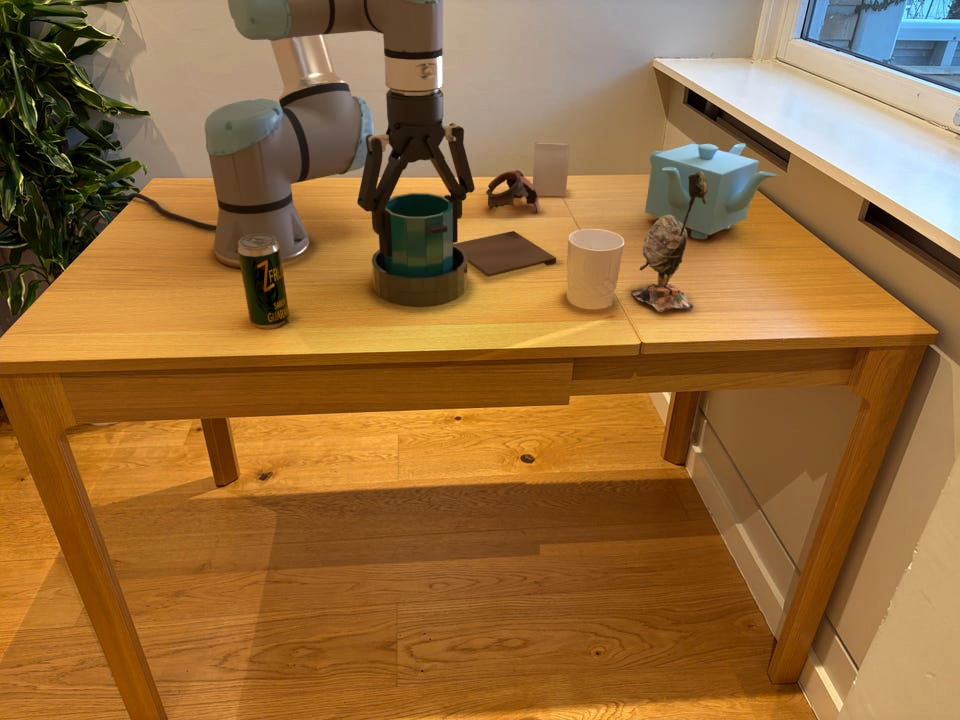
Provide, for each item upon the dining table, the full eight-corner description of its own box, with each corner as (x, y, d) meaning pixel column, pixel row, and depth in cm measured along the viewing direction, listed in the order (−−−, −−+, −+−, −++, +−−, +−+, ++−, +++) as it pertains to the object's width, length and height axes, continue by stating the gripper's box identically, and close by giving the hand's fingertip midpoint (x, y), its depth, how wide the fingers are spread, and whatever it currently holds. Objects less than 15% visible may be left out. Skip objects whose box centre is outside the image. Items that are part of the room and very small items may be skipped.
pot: (372, 273, 113) (367, 196, 106) (429, 260, 117) (428, 185, 110) (409, 309, 103) (406, 227, 96) (470, 293, 107) (471, 214, 101)
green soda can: (242, 324, 100) (227, 243, 94) (269, 308, 104) (256, 230, 98) (271, 334, 98) (258, 252, 92) (298, 317, 102) (287, 238, 96)
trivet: (448, 250, 123) (448, 244, 122) (513, 236, 128) (513, 230, 128) (488, 280, 113) (488, 274, 113) (555, 263, 119) (556, 257, 118)
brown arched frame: (543, 221, 135) (525, 187, 130) (498, 238, 139) (478, 205, 134) (544, 185, 143) (526, 151, 138) (501, 201, 147) (483, 169, 142)
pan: (359, 279, 112) (357, 250, 110) (440, 261, 119) (440, 233, 116) (398, 318, 102) (396, 287, 99) (484, 296, 108) (485, 266, 106)
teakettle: (637, 206, 142) (648, 130, 134) (734, 209, 141) (750, 133, 133) (651, 244, 126) (664, 161, 118) (760, 248, 125) (780, 164, 117)
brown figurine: (672, 280, 114) (694, 154, 103) (697, 315, 105) (725, 180, 94) (622, 282, 113) (639, 155, 103) (643, 316, 104) (664, 181, 93)
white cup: (581, 285, 112) (587, 224, 107) (626, 300, 108) (634, 238, 103) (552, 303, 107) (557, 240, 102) (598, 320, 103) (605, 255, 97)
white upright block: (565, 196, 146) (569, 147, 140) (532, 195, 146) (535, 145, 141) (565, 190, 149) (569, 141, 143) (532, 189, 149) (535, 140, 144)
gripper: (343, 104, 87) (357, 271, 99) (502, 86, 97) (497, 240, 109) (322, 91, 93) (337, 251, 105) (474, 76, 102) (472, 224, 114)
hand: (419, 246), depth 107 cm, fingers closed on pot, 10 cm apart
